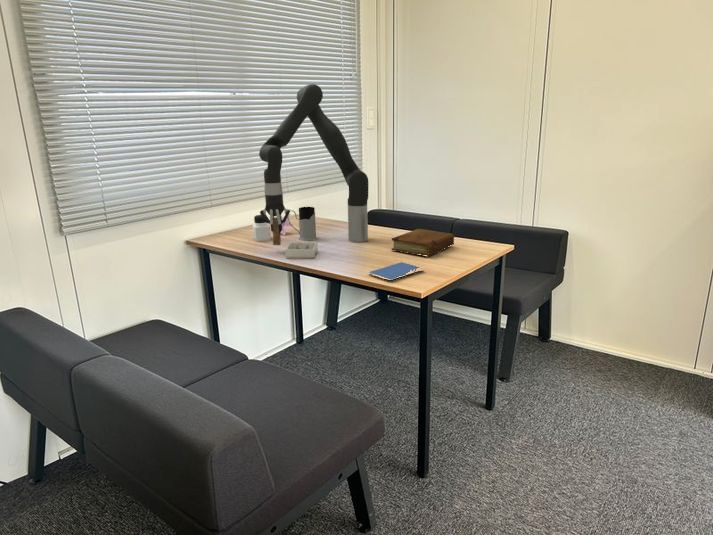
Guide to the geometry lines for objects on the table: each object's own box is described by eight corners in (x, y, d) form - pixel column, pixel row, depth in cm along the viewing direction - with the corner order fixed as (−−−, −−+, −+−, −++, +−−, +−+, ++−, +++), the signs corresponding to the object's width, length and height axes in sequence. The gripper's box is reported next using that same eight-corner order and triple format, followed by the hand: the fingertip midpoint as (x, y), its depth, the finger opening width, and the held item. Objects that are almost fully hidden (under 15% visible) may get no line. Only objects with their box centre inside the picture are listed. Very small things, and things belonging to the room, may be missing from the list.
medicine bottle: (271, 240, 243) (269, 215, 239) (256, 242, 240) (254, 217, 237) (267, 237, 249) (266, 213, 246) (253, 238, 247) (251, 214, 243)
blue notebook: (401, 264, 204) (401, 261, 204) (425, 271, 196) (425, 268, 195) (367, 275, 192) (367, 272, 192) (391, 283, 183) (391, 279, 183)
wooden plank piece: (280, 245, 224) (280, 217, 224) (278, 244, 220) (278, 217, 219) (275, 245, 224) (274, 218, 224) (273, 245, 220) (272, 217, 219)
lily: (266, 232, 258) (264, 218, 251) (285, 223, 264) (283, 208, 257) (281, 244, 252) (279, 229, 245) (299, 233, 258) (298, 219, 251)
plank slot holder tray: (317, 250, 224) (317, 242, 223) (314, 258, 213) (313, 249, 211) (290, 250, 225) (290, 242, 223) (285, 258, 213) (285, 249, 212)
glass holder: (314, 241, 240) (312, 210, 235) (285, 240, 243) (283, 209, 238) (319, 236, 248) (318, 206, 244) (291, 235, 251) (289, 206, 246)
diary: (428, 257, 213) (428, 244, 211) (391, 251, 223) (391, 238, 222) (453, 245, 230) (454, 233, 228) (418, 240, 241) (418, 228, 239)
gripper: (291, 191, 220) (293, 230, 225) (259, 191, 221) (263, 230, 226) (288, 194, 213) (291, 234, 218) (255, 194, 214) (259, 234, 219)
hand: (276, 232), depth 222 cm, fingers closed on wooden plank piece, 2 cm apart
